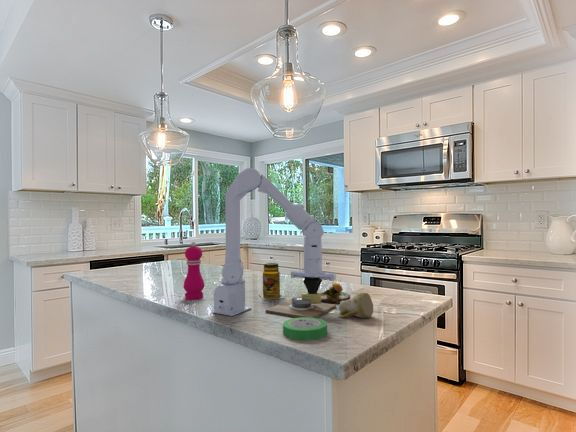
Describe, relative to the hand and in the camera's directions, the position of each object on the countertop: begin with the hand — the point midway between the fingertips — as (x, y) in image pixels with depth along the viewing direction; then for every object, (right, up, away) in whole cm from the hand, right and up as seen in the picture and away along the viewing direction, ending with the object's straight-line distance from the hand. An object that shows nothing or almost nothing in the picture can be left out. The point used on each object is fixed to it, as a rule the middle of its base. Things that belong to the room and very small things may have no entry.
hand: (313, 301), depth 117 cm
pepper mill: (-41, -2, +14) cm, 44 cm away
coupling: (-2, 0, -3) cm, 4 cm away
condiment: (-14, -2, +15) cm, 21 cm away
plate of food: (+8, -2, +10) cm, 13 cm away
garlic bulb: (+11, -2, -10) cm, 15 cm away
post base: (-4, -2, -3) cm, 5 cm away
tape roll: (-4, -3, -24) cm, 24 cm away
